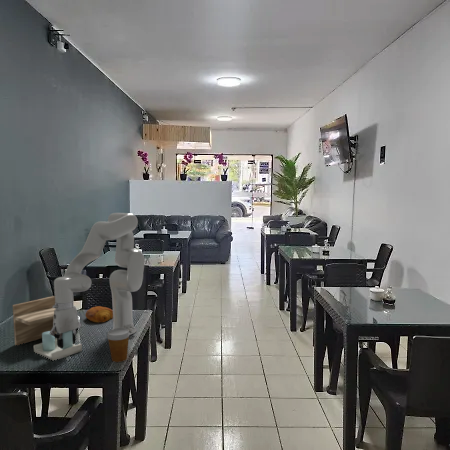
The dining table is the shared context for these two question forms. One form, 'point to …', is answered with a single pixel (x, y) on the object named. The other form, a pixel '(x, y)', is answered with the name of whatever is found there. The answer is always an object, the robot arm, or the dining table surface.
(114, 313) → the robot arm
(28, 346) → the dining table surface
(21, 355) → the dining table surface
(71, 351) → the tray
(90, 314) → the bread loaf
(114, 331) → the disposable coffee cup
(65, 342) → the pale blue cylinder
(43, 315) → the wooden stand
